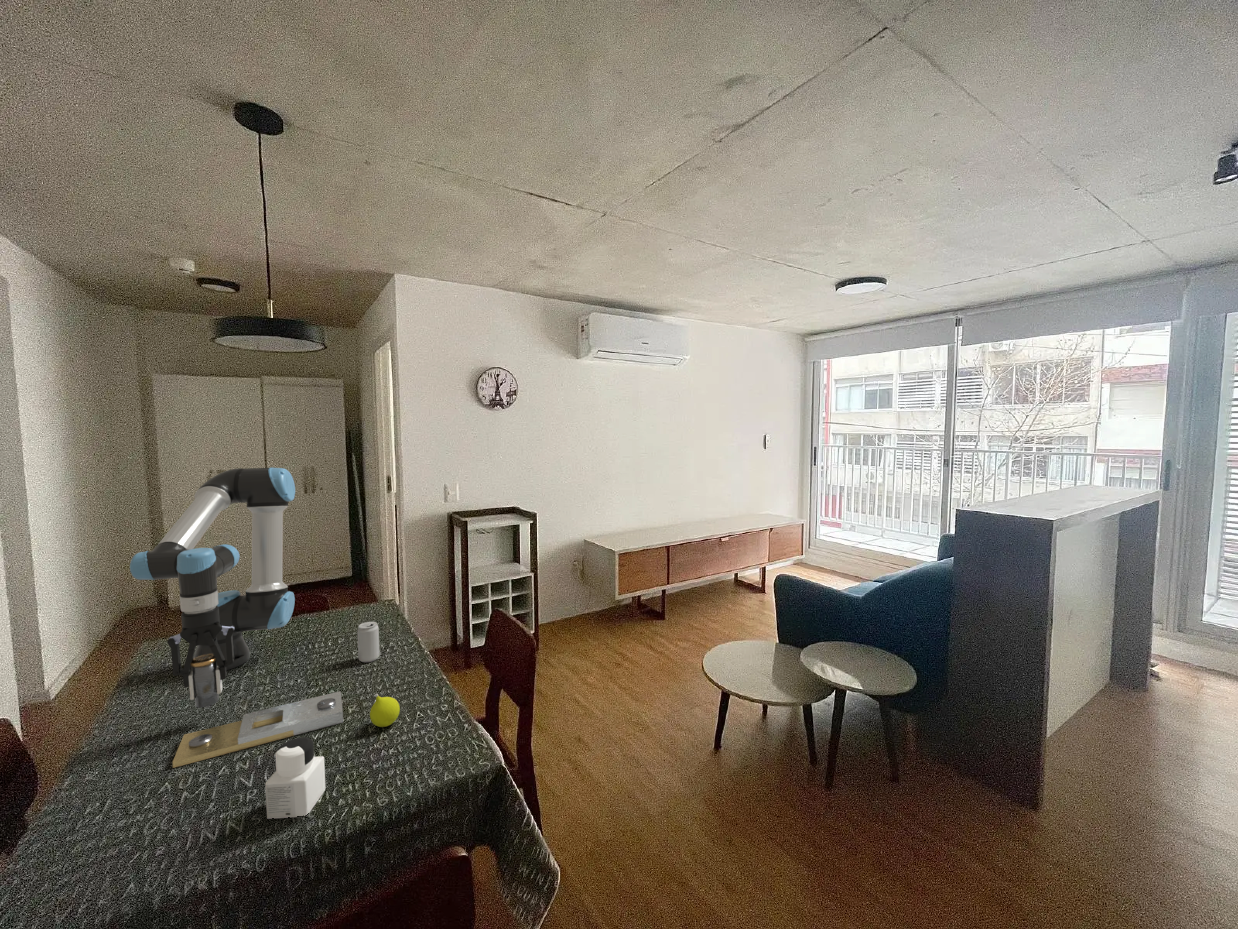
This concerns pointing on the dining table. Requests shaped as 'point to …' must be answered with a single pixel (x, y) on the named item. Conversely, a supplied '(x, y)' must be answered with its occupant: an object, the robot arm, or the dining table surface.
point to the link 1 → (220, 742)
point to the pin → (205, 680)
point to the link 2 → (294, 717)
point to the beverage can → (368, 642)
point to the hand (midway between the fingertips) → (206, 694)
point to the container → (295, 780)
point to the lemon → (384, 711)
